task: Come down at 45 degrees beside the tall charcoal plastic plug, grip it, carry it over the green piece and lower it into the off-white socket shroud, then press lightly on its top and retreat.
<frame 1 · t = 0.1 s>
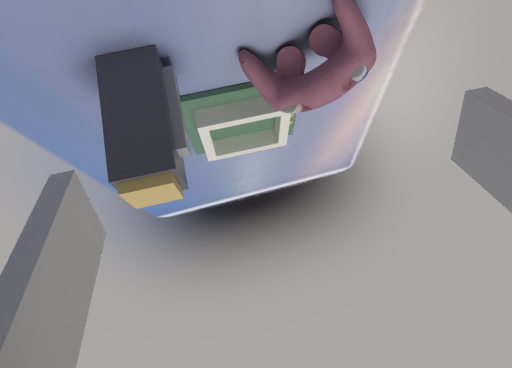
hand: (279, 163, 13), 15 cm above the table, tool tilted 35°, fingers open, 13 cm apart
green piece: (241, 116, 41), on the table
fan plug: (134, 68, 30), on the table
video game controller: (299, 32, 30), on the table
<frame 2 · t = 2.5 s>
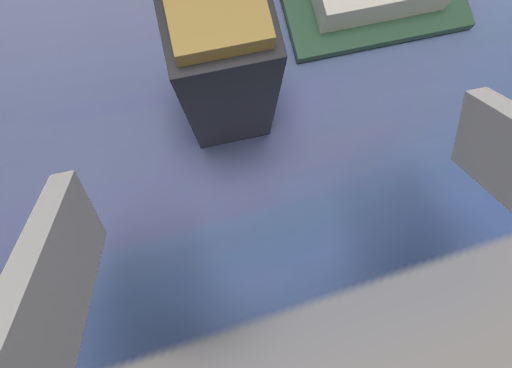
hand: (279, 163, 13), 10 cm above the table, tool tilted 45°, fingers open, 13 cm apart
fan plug: (228, 108, 24), on the table
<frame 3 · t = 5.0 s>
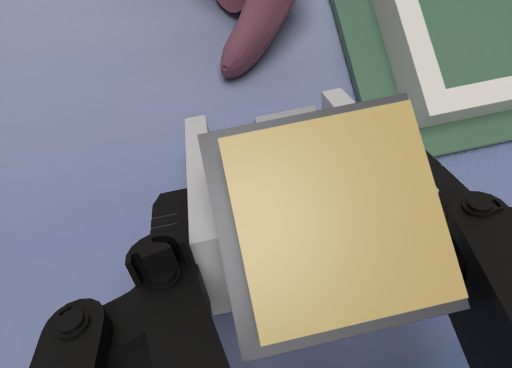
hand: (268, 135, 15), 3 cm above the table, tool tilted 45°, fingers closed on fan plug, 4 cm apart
green piece: (458, 31, 19), on the table
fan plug: (281, 234, 17), on the table, touching gripper
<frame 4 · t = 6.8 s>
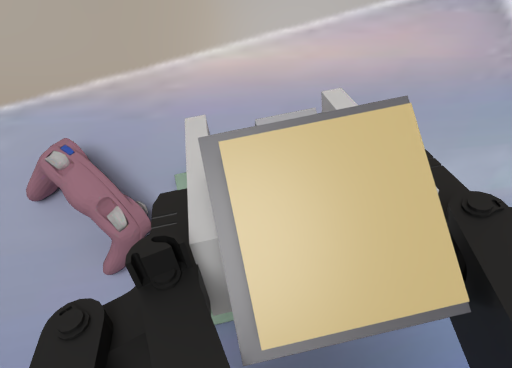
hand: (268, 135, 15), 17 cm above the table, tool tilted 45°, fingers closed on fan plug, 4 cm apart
green piece: (263, 231, 30), on the table
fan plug: (282, 235, 17), point 13 cm above the table, touching gripper
video game controller: (101, 209, 31), on the table
when the fingers open (5 cm above the table, at t = 9.1 s): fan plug drops 2 cm, resting on green piece.
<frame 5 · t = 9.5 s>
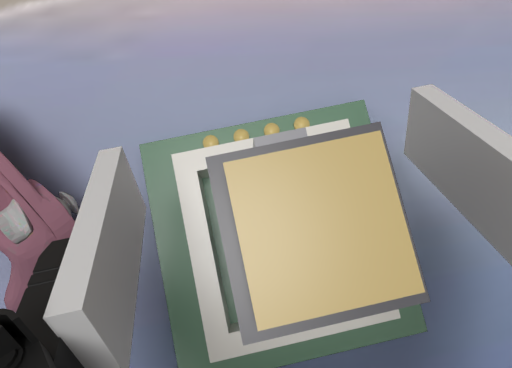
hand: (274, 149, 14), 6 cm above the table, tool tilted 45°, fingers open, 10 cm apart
green piece: (278, 235, 19), on the table
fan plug: (278, 236, 19), point 1 cm above the table, touching green piece
video game controller: (17, 206, 20), on the table
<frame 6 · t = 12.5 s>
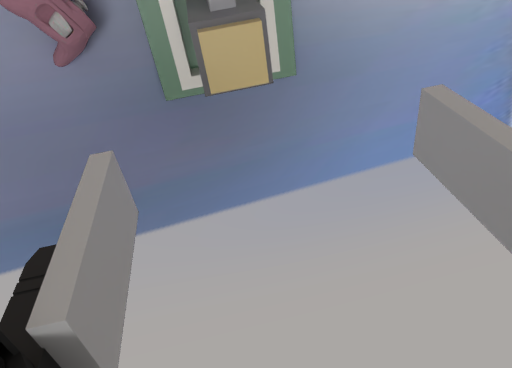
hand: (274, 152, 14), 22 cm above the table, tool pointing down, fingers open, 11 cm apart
green piece: (218, 16, 31), on the table
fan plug: (218, 18, 31), point 1 cm above the table, touching green piece
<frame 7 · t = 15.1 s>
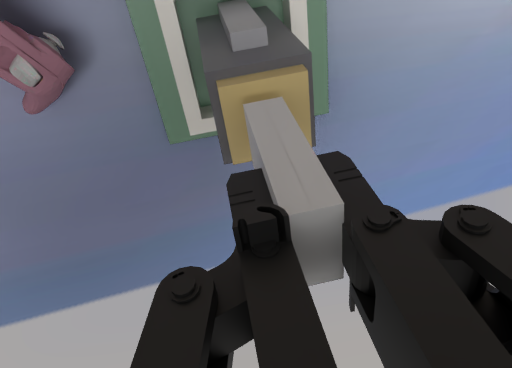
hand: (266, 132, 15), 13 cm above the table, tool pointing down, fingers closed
green piece: (236, 44, 25), on the table
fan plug: (236, 48, 24), point 1 cm above the table, touching green piece
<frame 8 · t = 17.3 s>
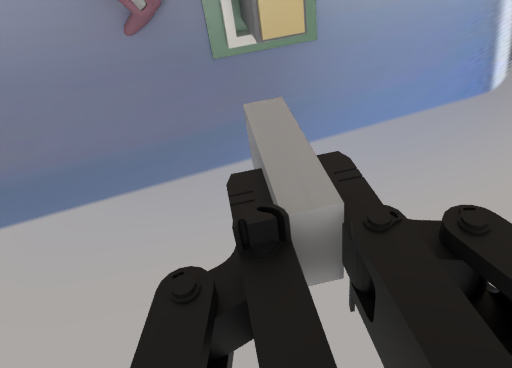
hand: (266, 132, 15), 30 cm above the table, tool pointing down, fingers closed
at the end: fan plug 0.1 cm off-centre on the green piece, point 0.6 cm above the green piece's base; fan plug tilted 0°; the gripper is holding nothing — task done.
